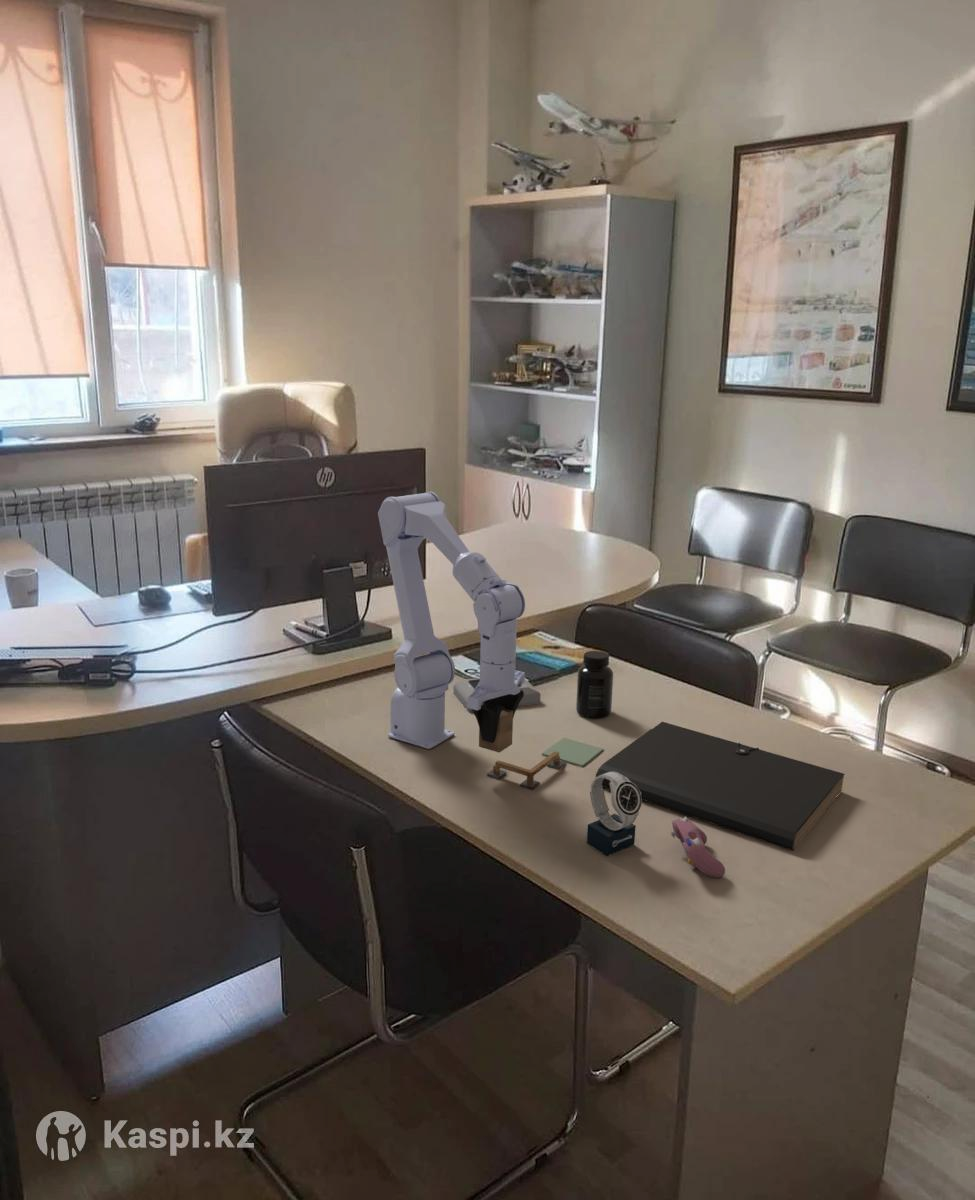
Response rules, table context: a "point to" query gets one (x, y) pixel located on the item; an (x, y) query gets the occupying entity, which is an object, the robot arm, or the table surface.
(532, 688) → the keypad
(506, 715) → the block
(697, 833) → the pink curved piece
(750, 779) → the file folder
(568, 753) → the mat
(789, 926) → the table surface
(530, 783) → the brown angled rail
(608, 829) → the watch
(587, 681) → the supplement bottle
